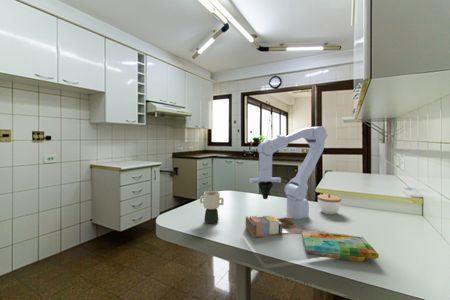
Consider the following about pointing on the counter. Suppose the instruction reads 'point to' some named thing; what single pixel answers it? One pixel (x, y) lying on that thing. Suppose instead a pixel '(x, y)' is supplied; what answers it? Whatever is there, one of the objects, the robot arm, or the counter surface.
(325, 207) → the lidded jar
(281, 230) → the bookend
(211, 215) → the character mug
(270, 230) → the pale yellow upright block
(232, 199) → the counter surface
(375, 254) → the puzzle game
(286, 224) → the shelf tray
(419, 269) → the counter surface
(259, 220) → the row books
